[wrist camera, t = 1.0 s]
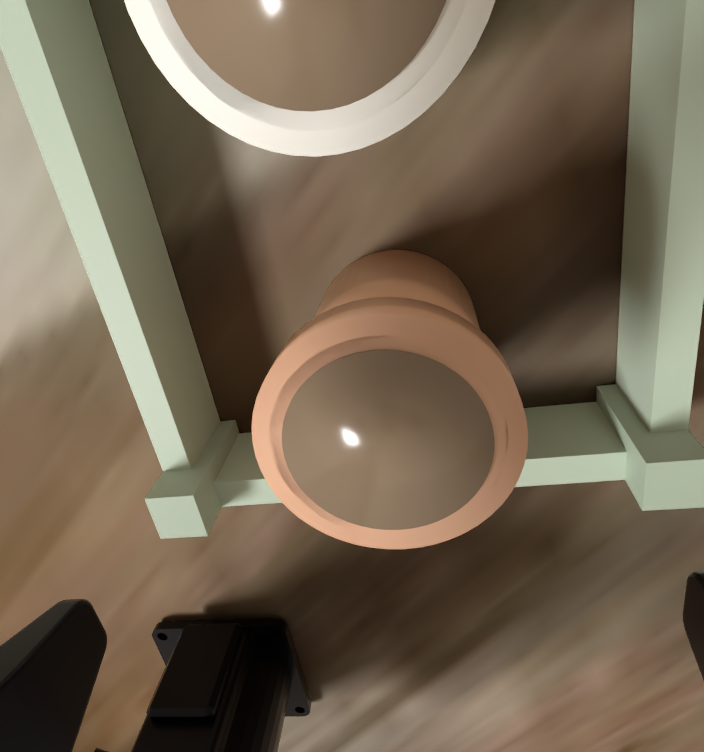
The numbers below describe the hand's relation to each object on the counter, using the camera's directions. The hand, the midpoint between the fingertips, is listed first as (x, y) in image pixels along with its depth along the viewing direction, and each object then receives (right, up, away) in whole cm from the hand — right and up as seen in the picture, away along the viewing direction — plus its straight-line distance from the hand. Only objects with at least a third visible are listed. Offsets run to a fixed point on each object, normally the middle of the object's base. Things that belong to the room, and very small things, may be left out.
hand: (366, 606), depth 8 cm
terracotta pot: (+1, +5, +10) cm, 11 cm away
